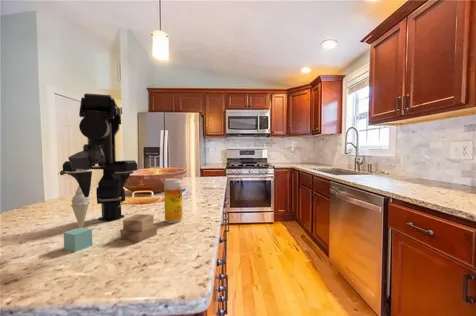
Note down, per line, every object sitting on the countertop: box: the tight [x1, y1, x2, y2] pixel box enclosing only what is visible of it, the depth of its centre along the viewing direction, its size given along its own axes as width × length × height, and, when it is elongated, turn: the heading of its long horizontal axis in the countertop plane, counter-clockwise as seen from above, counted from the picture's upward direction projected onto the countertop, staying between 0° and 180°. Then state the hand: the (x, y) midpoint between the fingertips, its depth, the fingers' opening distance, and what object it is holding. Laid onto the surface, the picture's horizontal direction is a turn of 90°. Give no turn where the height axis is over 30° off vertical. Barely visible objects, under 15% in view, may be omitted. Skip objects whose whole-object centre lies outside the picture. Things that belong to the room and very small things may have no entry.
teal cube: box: [63, 227, 93, 253], centre depth 63 cm, size 4×4×4 cm
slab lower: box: [120, 224, 158, 243], centre depth 71 cm, size 7×7×3 cm
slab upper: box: [122, 213, 155, 232], centre depth 71 cm, size 6×6×3 cm
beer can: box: [163, 177, 183, 224], centre depth 85 cm, size 6×6×15 cm
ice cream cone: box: [70, 185, 90, 228], centre depth 78 cm, size 5×5×15 cm
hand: (101, 197), depth 66 cm, fingers open, 9 cm apart
